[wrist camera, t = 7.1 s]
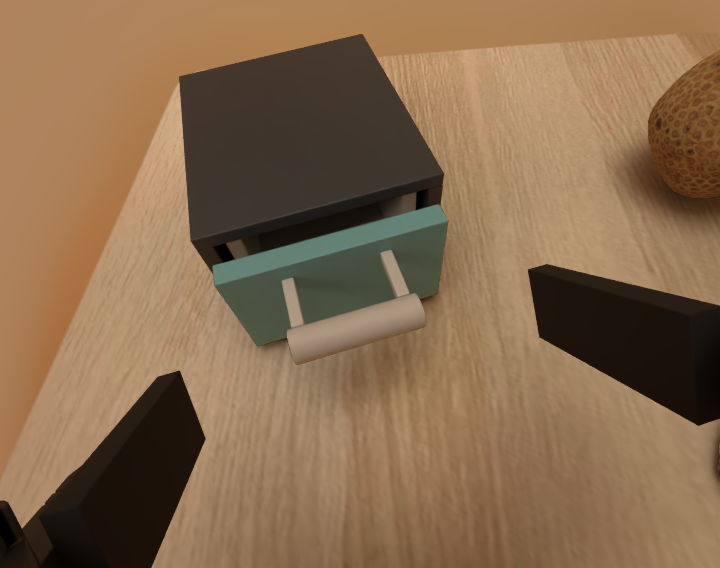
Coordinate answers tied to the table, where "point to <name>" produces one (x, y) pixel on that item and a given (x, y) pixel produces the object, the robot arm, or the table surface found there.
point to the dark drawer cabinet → (296, 143)
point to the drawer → (337, 277)
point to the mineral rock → (719, 461)
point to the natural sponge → (689, 131)
